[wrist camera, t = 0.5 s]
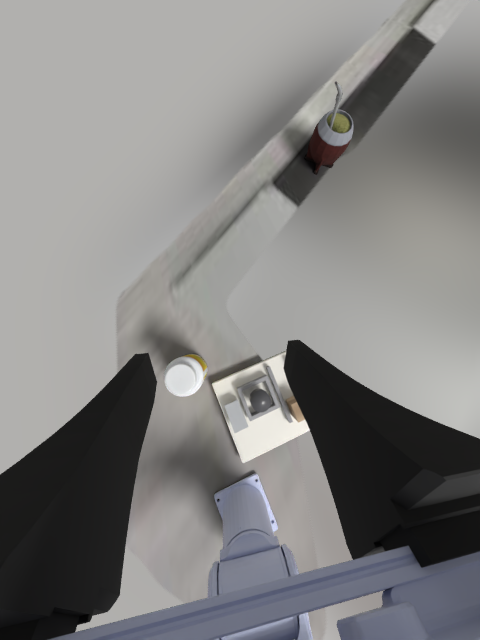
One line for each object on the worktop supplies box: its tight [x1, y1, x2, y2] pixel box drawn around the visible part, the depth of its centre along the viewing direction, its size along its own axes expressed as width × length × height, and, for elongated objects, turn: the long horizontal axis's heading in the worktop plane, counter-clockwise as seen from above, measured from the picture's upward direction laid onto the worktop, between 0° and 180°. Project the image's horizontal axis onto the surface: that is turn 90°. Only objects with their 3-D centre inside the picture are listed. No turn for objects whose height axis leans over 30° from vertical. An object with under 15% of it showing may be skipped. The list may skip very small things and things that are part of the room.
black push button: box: [249, 389, 271, 412], centre depth 33 cm, size 3×3×2 cm
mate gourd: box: [305, 82, 353, 175], centre depth 36 cm, size 7×8×15 cm
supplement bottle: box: [164, 354, 207, 397], centre depth 31 cm, size 6×6×10 cm
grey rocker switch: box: [225, 399, 248, 433], centre depth 33 cm, size 4×2×1 cm, turn 22°
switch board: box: [212, 350, 310, 463], centre depth 35 cm, size 14×15×3 cm
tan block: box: [286, 396, 305, 423], centre depth 34 cm, size 3×2×3 cm
